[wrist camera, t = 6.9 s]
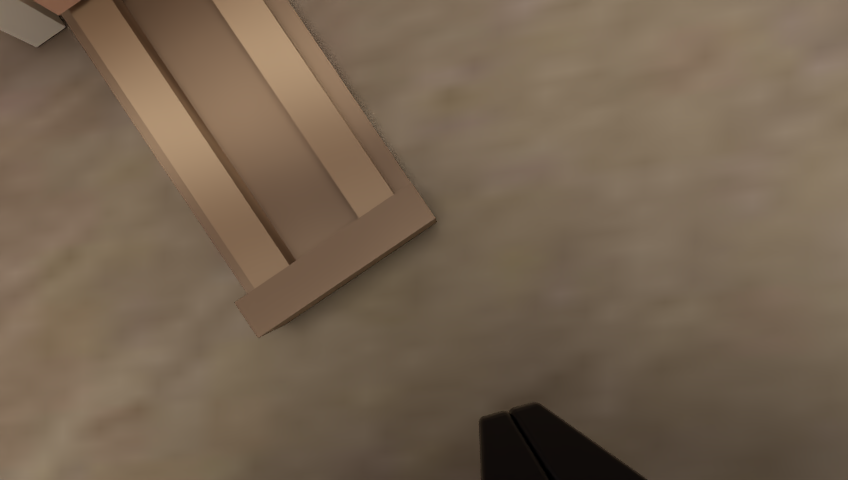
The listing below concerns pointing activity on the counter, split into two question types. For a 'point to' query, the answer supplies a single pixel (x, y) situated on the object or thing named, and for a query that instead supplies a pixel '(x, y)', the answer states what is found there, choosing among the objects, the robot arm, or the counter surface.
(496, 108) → the counter surface
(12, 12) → the pair of white blocks
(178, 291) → the counter surface
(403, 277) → the counter surface
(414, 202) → the wooden tray
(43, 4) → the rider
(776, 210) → the counter surface
